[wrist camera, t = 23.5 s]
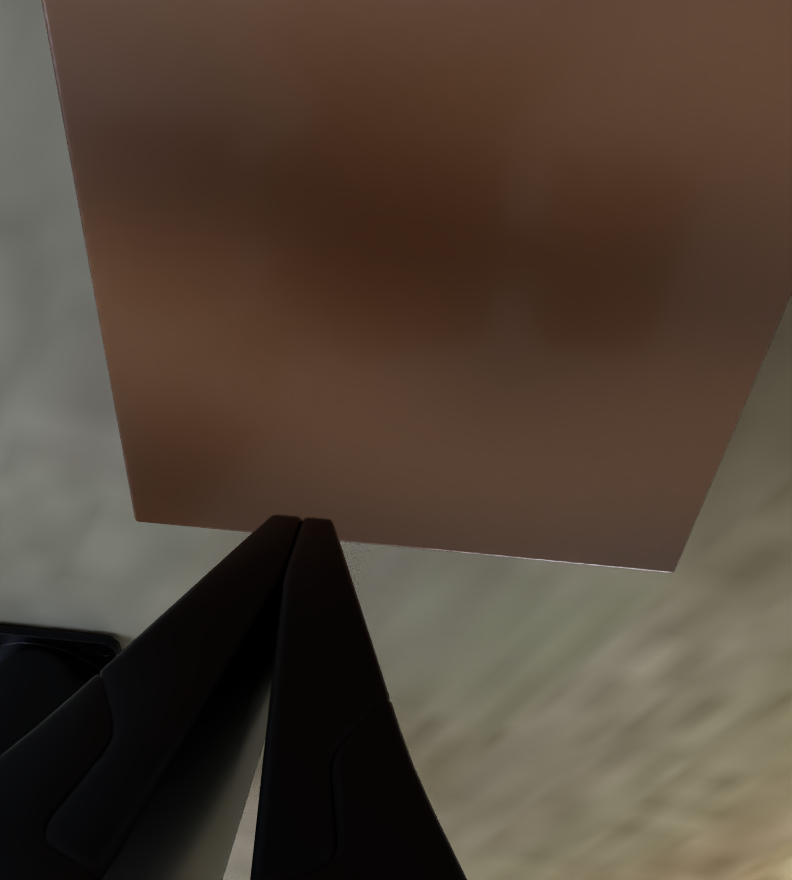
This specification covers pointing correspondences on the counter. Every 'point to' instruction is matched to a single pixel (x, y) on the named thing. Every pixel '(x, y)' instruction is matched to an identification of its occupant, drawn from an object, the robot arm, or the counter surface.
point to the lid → (433, 259)
